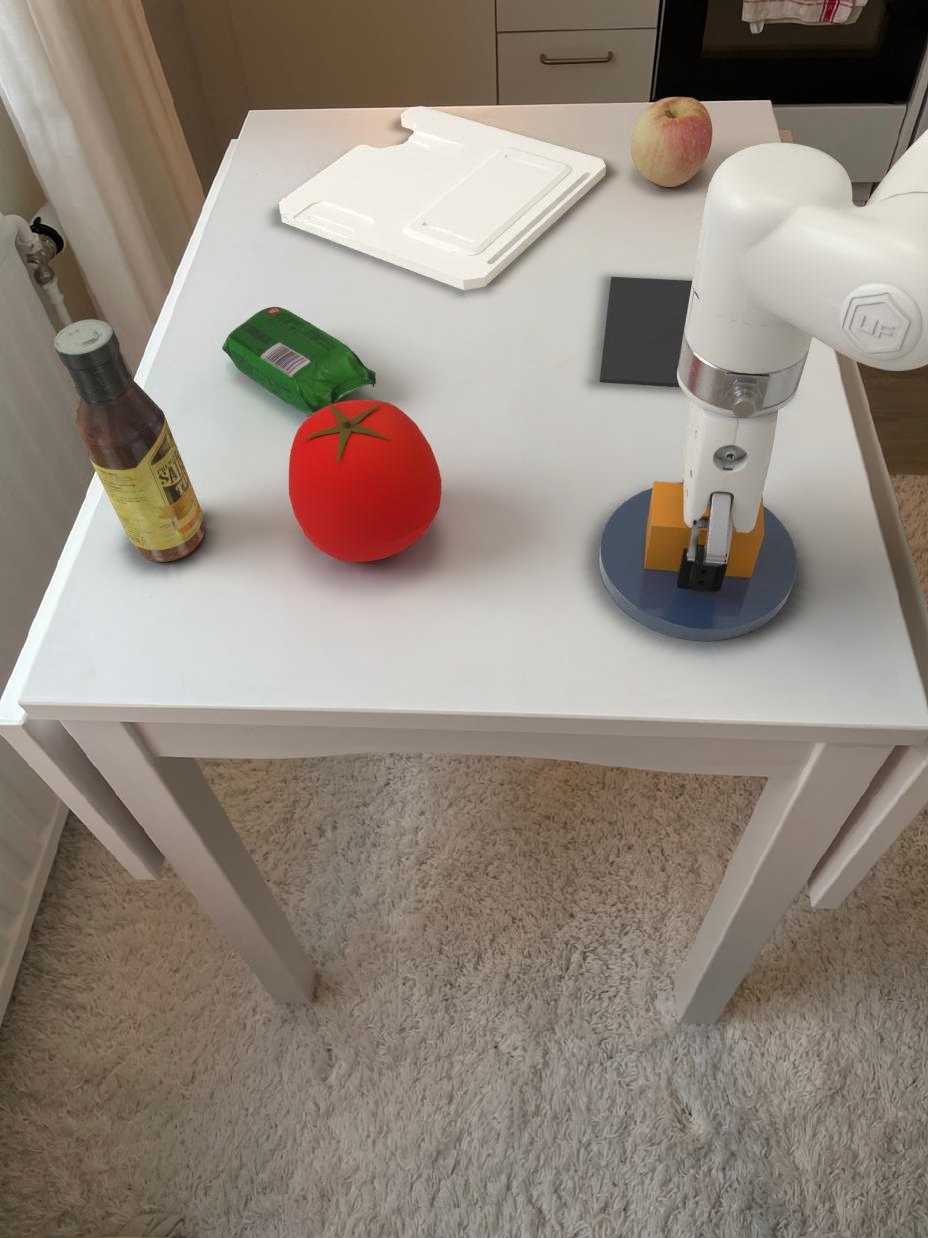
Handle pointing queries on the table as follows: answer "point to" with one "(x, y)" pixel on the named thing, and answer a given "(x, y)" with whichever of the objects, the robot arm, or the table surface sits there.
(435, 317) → the table surface
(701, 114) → the apple
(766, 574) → the plate
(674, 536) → the block
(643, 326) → the mat
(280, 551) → the table surface
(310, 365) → the snack package
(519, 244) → the tray
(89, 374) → the sauce bottle
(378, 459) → the tomato
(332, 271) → the table surface
